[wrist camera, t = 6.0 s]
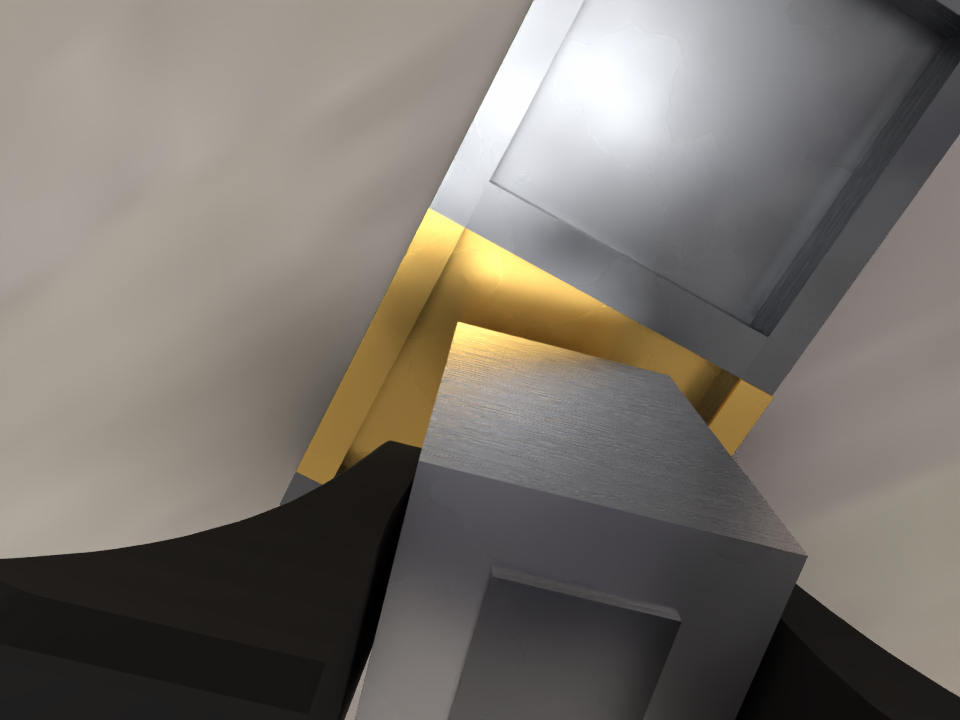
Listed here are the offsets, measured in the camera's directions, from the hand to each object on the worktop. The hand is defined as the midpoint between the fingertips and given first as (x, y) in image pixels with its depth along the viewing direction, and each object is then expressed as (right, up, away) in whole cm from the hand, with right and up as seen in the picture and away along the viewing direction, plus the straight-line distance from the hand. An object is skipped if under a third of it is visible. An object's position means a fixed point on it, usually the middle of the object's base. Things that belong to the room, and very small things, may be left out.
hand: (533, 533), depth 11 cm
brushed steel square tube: (0, +1, +2) cm, 2 cm away
